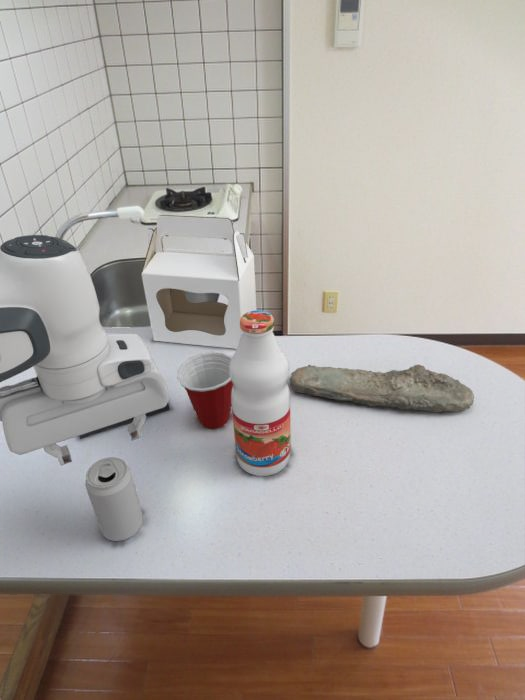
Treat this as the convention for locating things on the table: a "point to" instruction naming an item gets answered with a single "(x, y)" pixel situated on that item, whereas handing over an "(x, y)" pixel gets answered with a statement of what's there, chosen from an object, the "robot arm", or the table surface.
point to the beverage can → (114, 498)
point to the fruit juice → (260, 397)
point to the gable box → (198, 283)
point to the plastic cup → (208, 387)
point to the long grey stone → (385, 387)
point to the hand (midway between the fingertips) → (101, 448)
